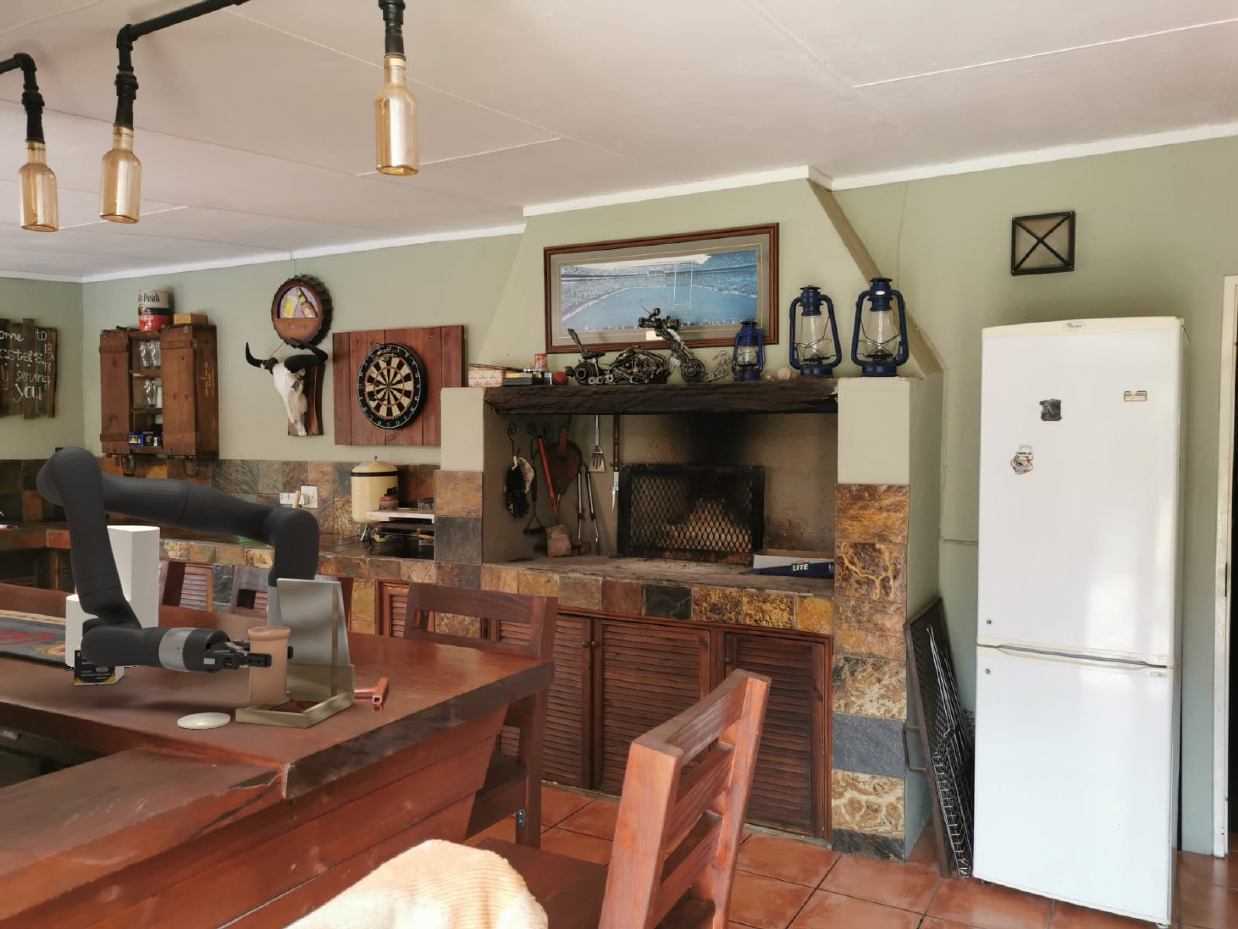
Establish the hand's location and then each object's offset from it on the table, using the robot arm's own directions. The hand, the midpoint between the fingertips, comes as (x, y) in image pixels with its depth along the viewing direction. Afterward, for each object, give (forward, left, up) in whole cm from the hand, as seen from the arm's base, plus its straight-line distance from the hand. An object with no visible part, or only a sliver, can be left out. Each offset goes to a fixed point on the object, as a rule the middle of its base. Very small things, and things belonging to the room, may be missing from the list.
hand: (281, 656), depth 161 cm
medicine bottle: (-12, -47, -10) cm, 49 cm away
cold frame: (-3, +1, -10) cm, 11 cm away
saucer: (+7, -10, -10) cm, 16 cm away
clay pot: (0, -2, -7) cm, 8 cm away
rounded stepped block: (-27, -57, -10) cm, 63 cm away
